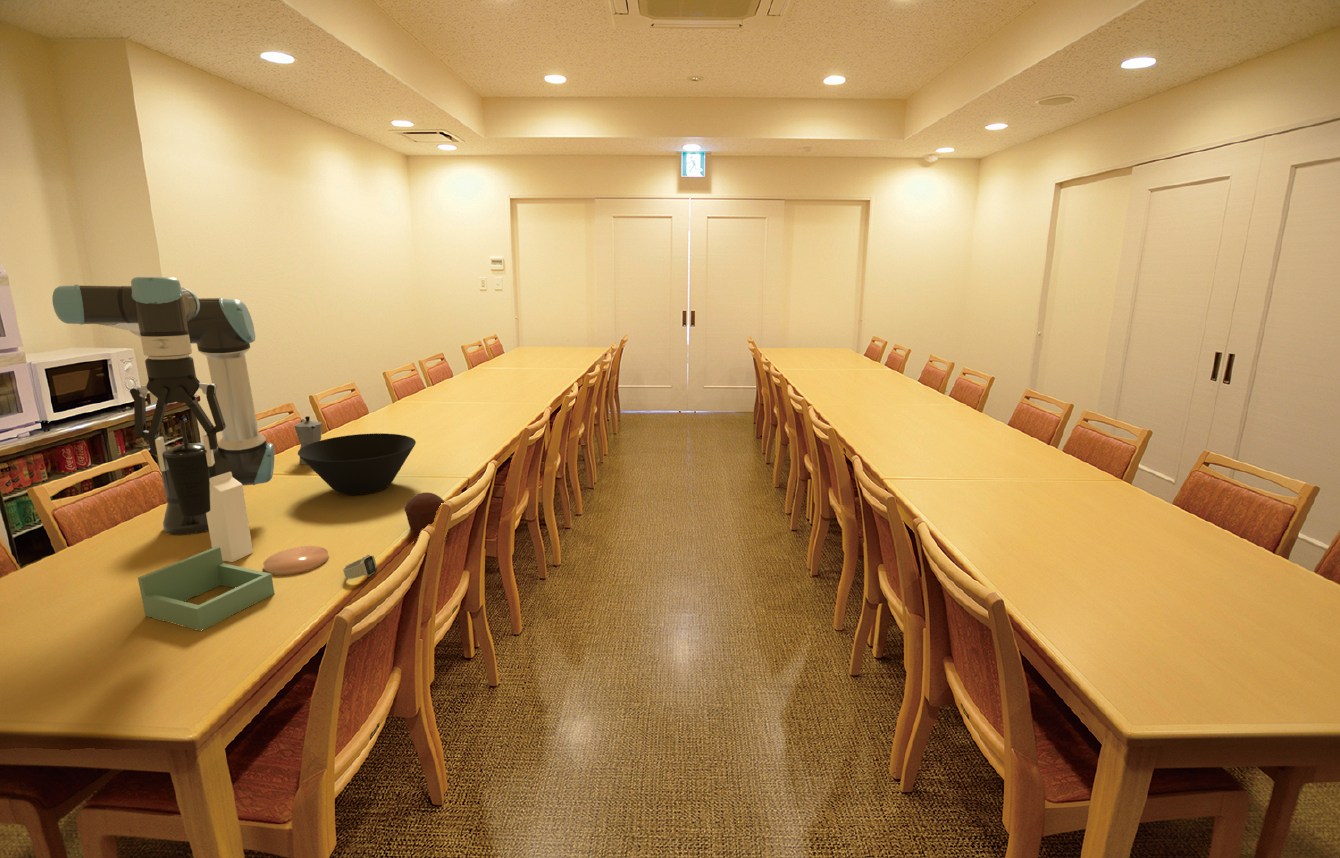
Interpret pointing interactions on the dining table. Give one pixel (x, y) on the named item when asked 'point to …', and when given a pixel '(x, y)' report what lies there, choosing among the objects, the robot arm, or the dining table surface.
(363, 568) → the wristwatch
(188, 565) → the frame
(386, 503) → the dining table surface
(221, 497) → the milk
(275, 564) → the saucer
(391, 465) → the bowl
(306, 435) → the coffeepot
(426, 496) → the muffin
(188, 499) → the drinking cup
